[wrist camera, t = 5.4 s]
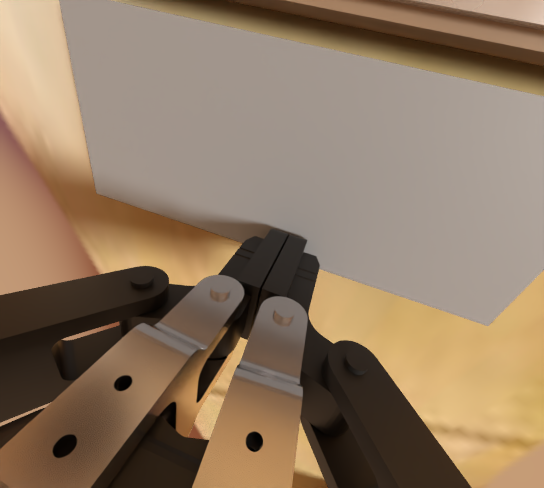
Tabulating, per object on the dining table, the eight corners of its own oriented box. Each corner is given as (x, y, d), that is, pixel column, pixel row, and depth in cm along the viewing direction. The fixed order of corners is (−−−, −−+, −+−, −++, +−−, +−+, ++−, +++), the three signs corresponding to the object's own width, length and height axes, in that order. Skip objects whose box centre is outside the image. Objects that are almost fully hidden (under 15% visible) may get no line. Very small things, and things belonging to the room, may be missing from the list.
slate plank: (107, 2, 10) (56, -12, 8) (618, 116, 8) (684, 127, 6) (127, 179, 14) (96, 193, 12) (471, 291, 12) (487, 326, 10)
